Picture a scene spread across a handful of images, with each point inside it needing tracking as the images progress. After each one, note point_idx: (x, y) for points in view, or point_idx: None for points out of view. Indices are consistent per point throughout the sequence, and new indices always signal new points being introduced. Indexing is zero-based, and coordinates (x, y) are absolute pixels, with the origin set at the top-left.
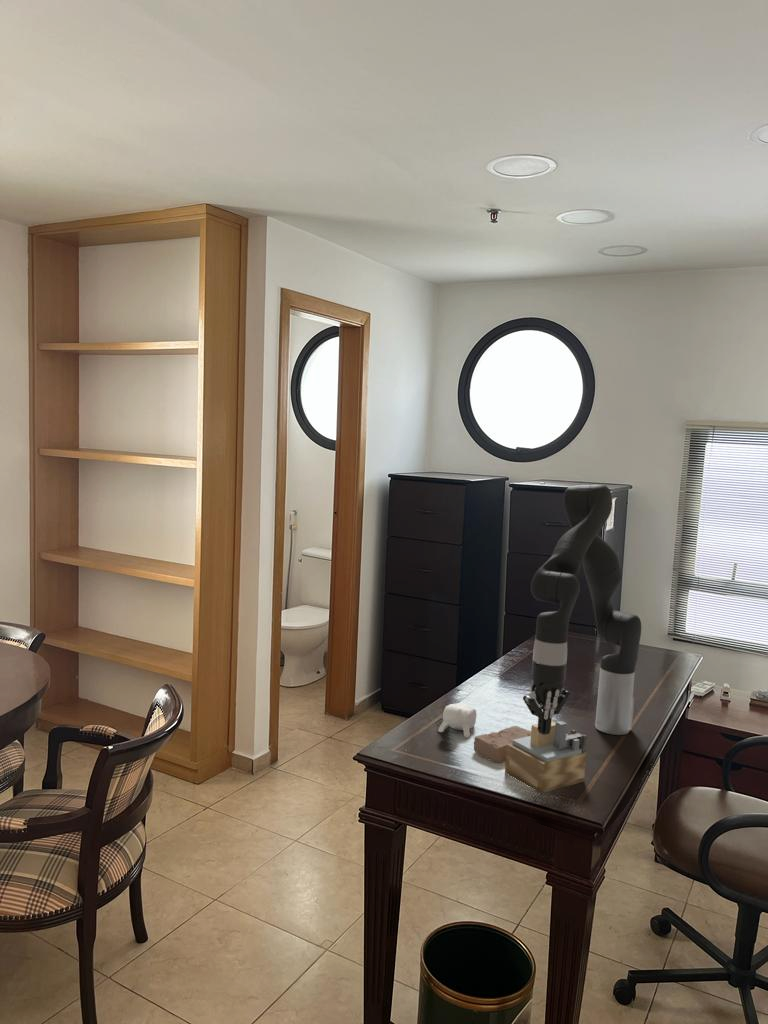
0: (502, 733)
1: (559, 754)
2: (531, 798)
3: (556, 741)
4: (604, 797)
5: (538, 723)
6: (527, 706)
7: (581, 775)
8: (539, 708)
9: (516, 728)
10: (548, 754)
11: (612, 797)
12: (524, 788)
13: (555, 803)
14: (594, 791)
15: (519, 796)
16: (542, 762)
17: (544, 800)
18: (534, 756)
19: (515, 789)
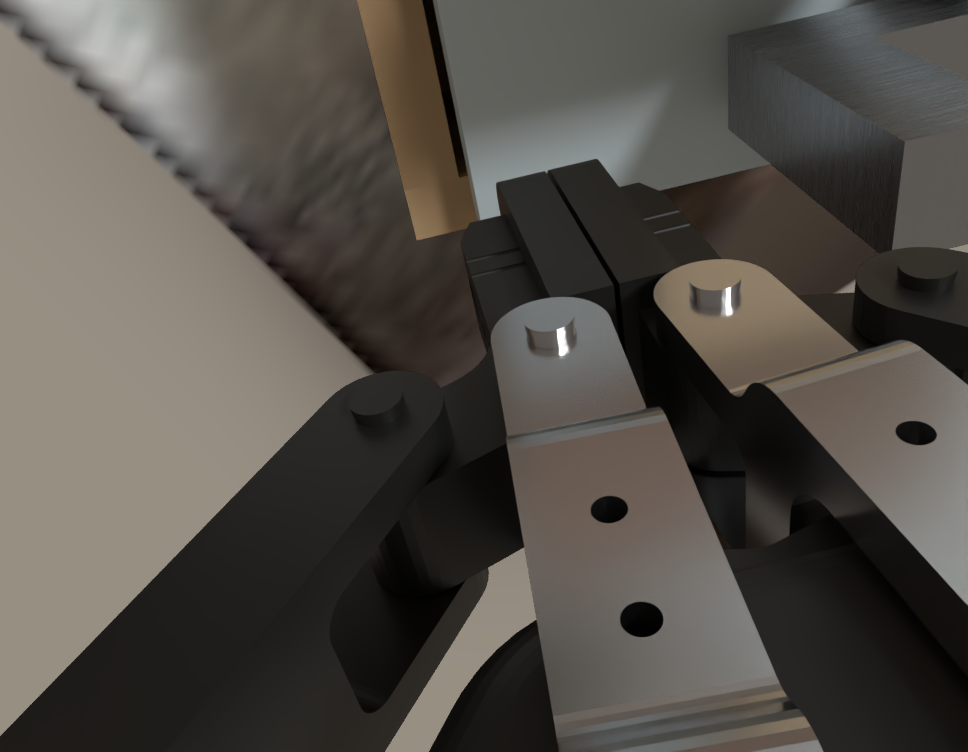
0: None
1: (670, 178)
2: (281, 183)
3: (759, 97)
4: (783, 272)
5: (479, 296)
6: (135, 609)
7: None
8: (393, 734)
9: None
10: (554, 155)
11: (828, 281)
12: (304, 11)
13: (418, 281)
14: (793, 187)
15: (196, 133)
16: (428, 210)
17: (365, 230)
18: (426, 49)
19: (213, 8)
